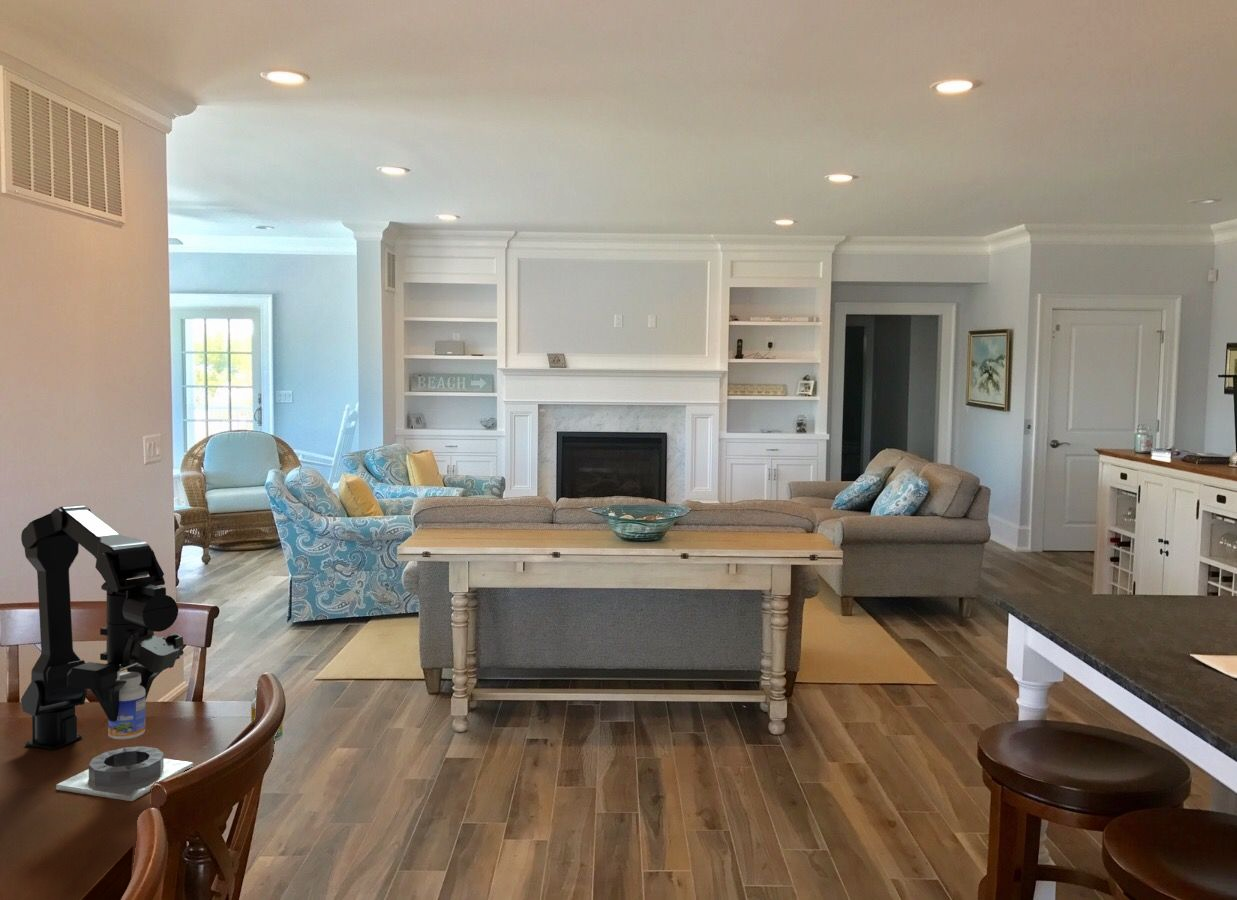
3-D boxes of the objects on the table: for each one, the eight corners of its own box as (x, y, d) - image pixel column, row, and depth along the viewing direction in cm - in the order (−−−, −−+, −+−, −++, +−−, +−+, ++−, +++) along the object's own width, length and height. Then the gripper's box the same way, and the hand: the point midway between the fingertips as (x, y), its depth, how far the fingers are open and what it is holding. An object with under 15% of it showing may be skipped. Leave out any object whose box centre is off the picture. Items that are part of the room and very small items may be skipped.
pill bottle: (101, 739, 153) (100, 679, 153) (119, 727, 159) (119, 669, 158) (134, 740, 153) (134, 681, 152) (151, 728, 158) (151, 670, 158)
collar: (56, 789, 151) (56, 769, 151) (122, 757, 165) (122, 738, 164) (132, 801, 148) (132, 781, 148) (192, 767, 161) (192, 748, 161)
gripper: (126, 639, 144) (126, 741, 145) (207, 612, 162) (207, 702, 163) (64, 632, 146) (64, 732, 147) (151, 606, 164) (151, 695, 165)
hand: (126, 715), depth 156 cm, fingers closed on pill bottle, 5 cm apart
